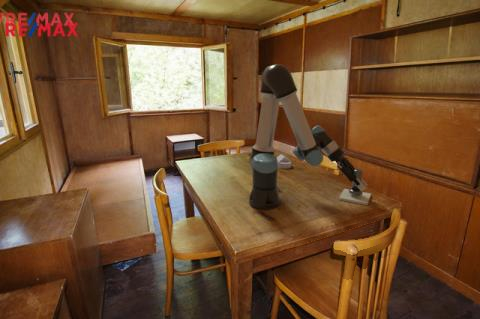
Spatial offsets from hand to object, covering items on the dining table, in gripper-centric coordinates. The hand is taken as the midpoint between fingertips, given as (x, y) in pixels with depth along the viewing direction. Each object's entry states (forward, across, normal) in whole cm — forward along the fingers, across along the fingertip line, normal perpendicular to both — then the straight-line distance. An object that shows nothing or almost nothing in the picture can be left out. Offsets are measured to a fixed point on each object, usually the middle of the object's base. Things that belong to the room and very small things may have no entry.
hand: (364, 188), depth 133 cm
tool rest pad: (+2, 0, +7) cm, 7 cm away
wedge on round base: (-35, +32, +44) cm, 65 cm away
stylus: (0, 0, +5) cm, 5 cm away
